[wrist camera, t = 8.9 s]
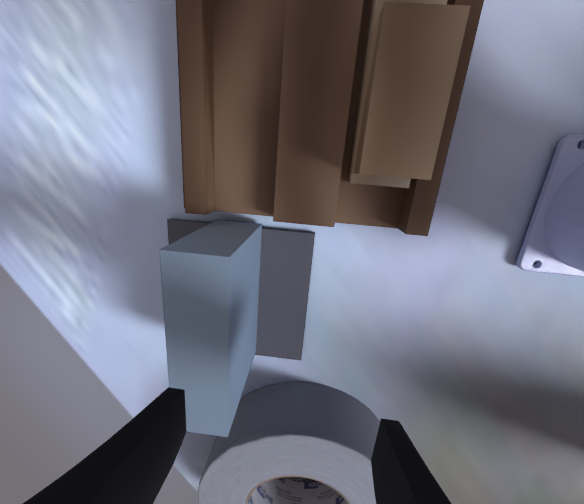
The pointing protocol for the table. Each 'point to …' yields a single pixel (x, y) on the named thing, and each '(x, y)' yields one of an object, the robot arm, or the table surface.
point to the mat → (274, 286)
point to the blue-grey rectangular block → (211, 319)
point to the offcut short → (408, 88)
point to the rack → (289, 113)
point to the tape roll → (293, 449)
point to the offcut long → (374, 13)
